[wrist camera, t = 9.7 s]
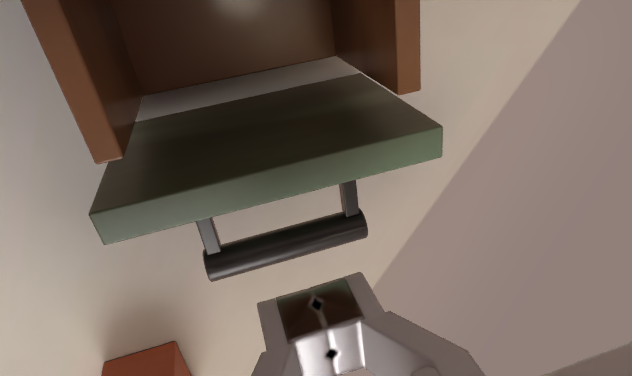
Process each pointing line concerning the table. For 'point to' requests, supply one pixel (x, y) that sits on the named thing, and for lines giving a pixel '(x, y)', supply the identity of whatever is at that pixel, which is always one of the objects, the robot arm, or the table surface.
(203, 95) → the table surface
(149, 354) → the block
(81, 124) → the drawer
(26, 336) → the table surface
